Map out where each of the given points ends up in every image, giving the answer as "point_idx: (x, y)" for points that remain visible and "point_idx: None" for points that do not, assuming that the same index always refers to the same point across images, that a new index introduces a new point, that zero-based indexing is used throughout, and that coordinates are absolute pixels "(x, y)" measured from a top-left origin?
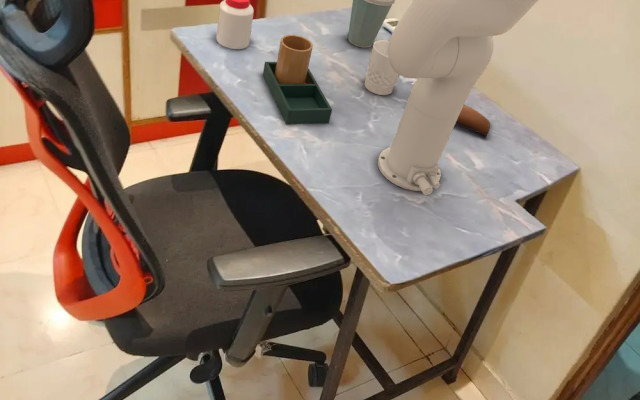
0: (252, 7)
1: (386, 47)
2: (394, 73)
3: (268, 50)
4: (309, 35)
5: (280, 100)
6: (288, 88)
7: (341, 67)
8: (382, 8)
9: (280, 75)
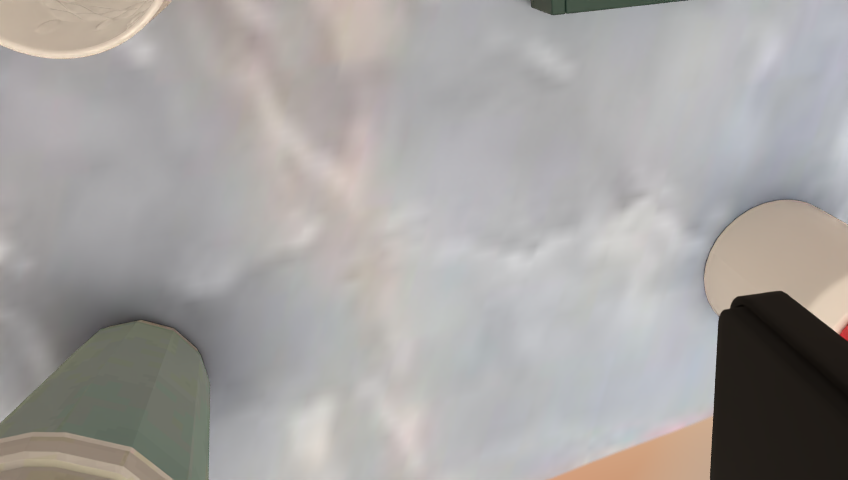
0: None
1: (54, 38)
2: None
3: (634, 215)
4: (400, 381)
5: None
6: None
7: (298, 113)
8: (18, 432)
9: None
